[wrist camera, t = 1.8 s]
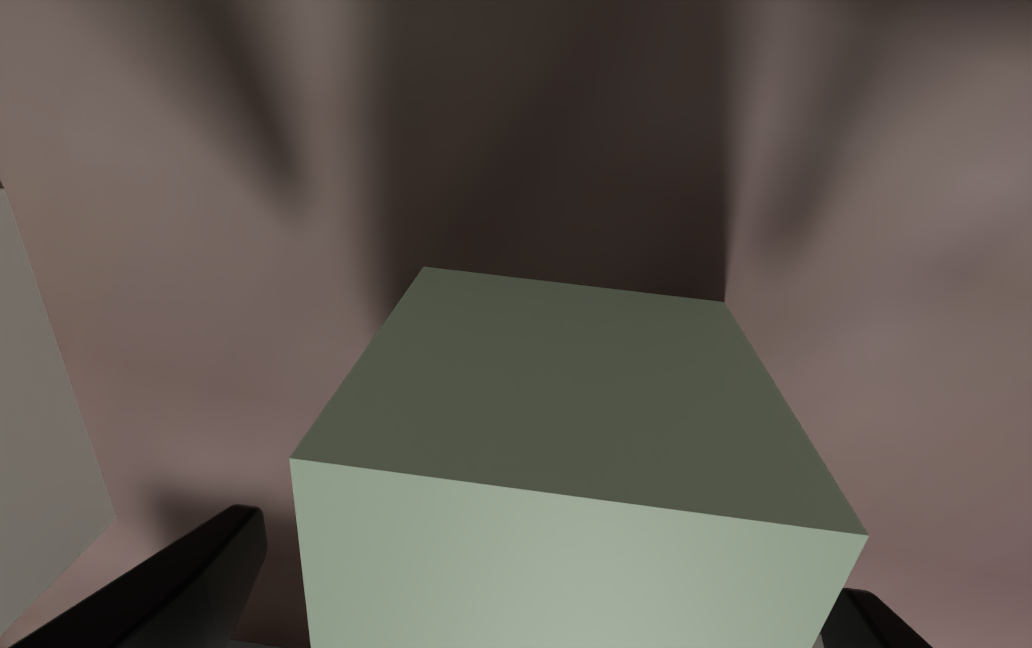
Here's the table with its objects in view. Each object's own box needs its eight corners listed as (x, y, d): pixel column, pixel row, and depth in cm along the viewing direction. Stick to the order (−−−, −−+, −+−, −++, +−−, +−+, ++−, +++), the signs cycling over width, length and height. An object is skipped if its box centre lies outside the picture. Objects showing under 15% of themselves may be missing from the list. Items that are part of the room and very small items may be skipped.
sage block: (660, 523, 14) (719, 828, 8) (419, 490, 14) (324, 765, 8) (723, 300, 11) (869, 536, 6) (424, 265, 11) (289, 458, 6)
